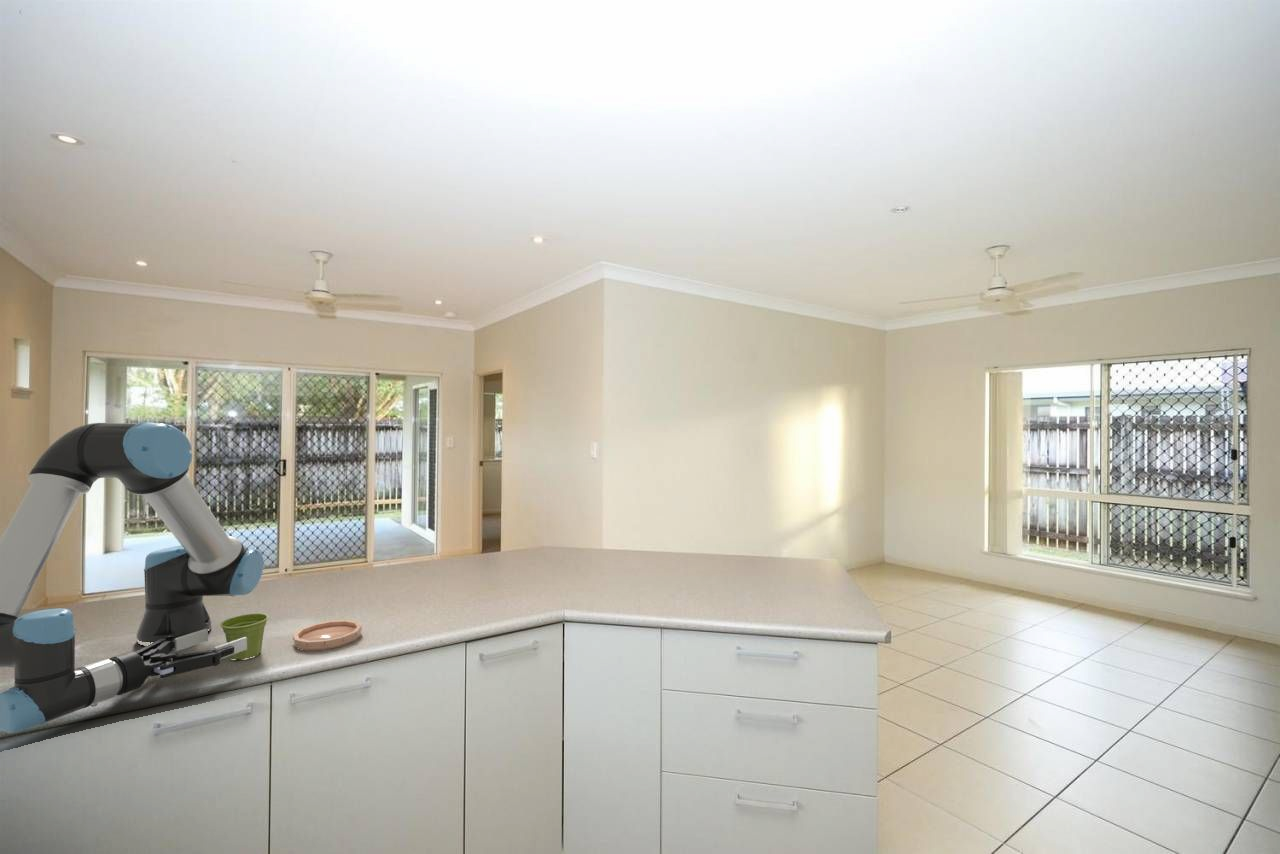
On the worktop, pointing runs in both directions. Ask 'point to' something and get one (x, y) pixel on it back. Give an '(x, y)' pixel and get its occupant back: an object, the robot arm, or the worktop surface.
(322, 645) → the saucer
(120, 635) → the worktop surface
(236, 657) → the plant pot
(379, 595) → the worktop surface
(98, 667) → the robot arm
